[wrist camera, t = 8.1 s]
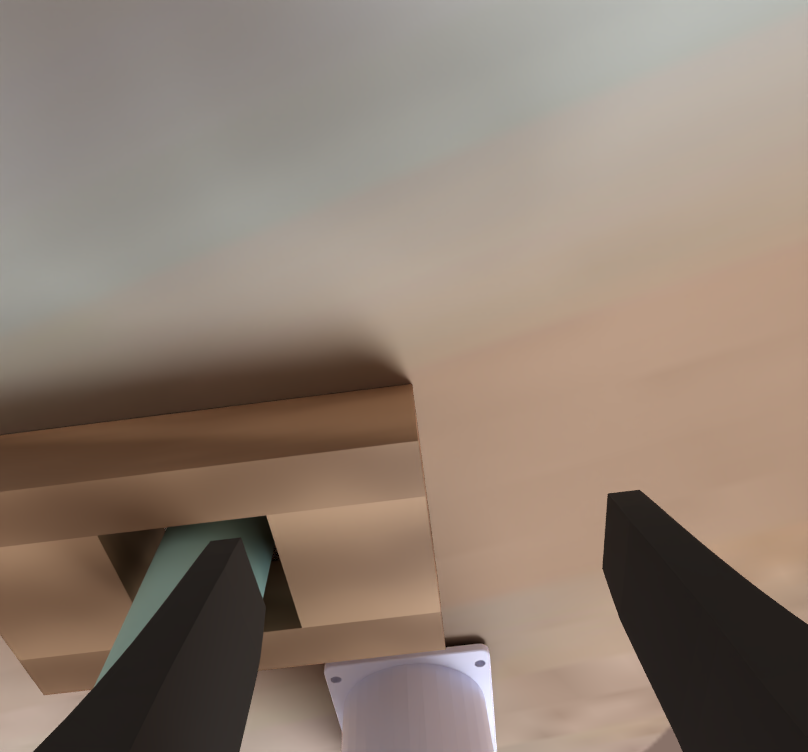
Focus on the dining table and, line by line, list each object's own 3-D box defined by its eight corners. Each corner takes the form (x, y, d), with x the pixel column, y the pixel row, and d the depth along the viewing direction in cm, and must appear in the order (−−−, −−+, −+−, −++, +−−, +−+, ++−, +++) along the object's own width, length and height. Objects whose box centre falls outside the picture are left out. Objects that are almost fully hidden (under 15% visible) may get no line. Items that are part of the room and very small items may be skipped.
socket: (437, 577, 25) (445, 649, 22) (84, 618, 25) (44, 695, 22) (412, 383, 20) (418, 440, 17) (-24, 438, 20) (-95, 503, 17)
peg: (289, 543, 24) (251, 744, 17) (196, 554, 24) (118, 758, 17) (267, 468, 22) (214, 660, 15) (165, 480, 22) (64, 676, 15)
